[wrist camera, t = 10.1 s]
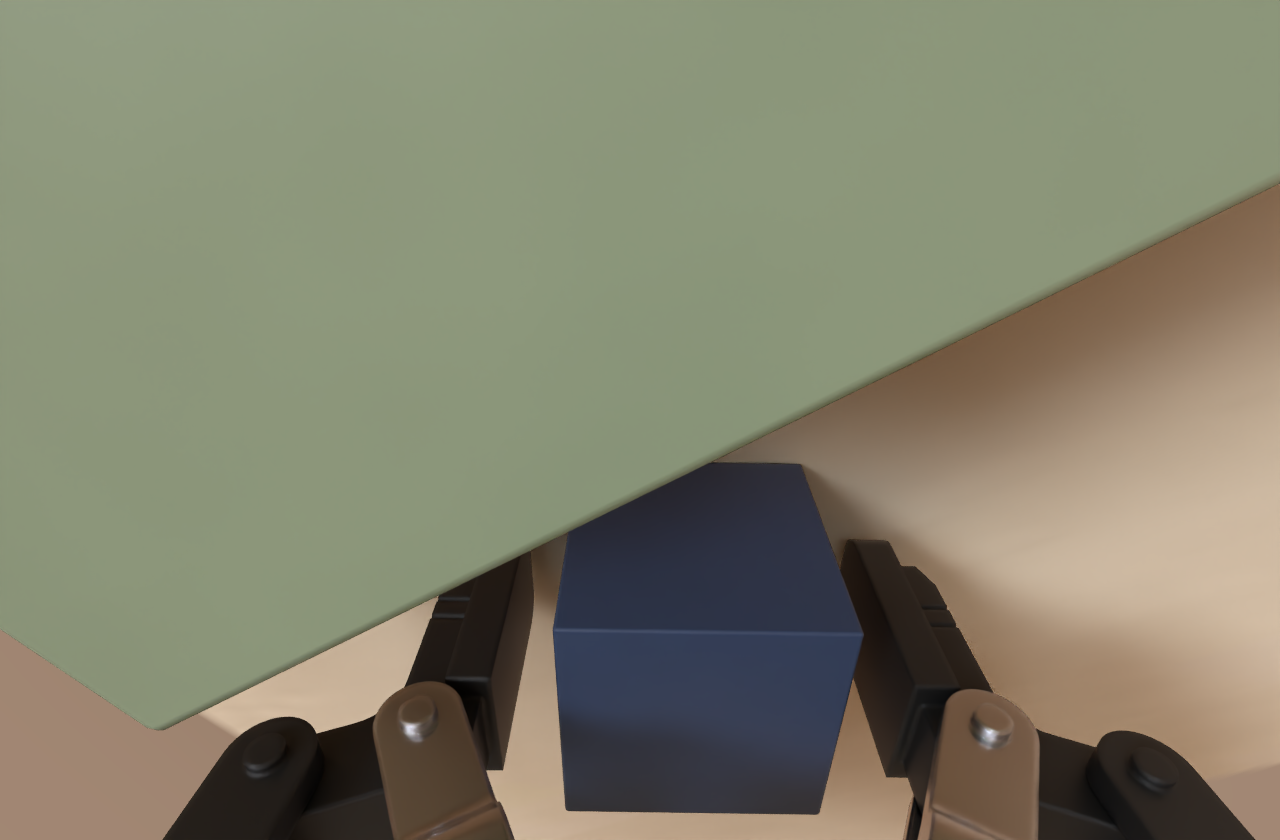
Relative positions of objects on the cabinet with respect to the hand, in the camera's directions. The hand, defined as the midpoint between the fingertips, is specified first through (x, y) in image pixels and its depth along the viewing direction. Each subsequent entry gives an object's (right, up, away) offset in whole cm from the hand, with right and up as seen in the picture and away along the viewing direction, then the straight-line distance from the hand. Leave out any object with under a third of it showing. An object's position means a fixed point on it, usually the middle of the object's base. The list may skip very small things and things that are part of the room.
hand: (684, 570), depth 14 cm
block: (0, 0, +1) cm, 1 cm away
